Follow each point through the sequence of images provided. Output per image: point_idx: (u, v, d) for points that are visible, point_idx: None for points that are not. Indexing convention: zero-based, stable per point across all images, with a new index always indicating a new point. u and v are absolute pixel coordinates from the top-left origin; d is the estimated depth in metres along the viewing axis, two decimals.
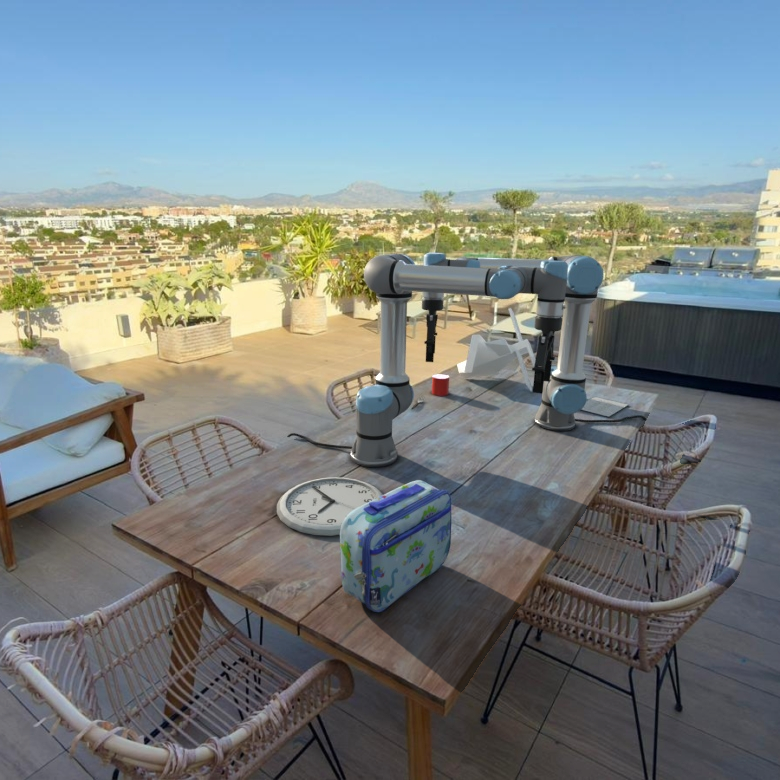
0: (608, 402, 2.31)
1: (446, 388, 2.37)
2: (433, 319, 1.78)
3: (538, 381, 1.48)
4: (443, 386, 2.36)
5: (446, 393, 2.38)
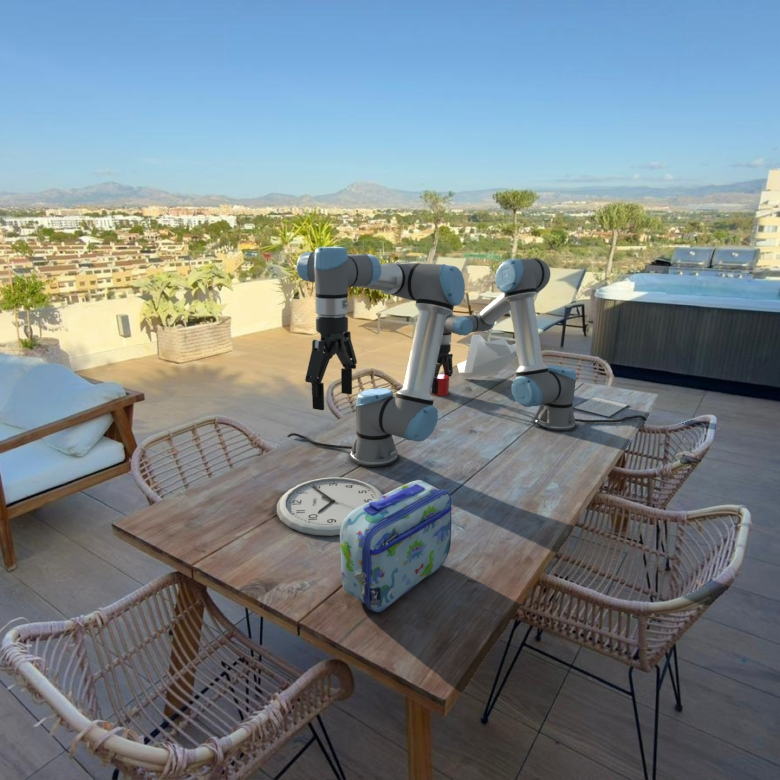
0: (608, 402, 2.31)
1: (446, 388, 2.37)
2: None
3: (315, 395, 1.20)
4: (443, 386, 2.36)
5: (446, 393, 2.38)
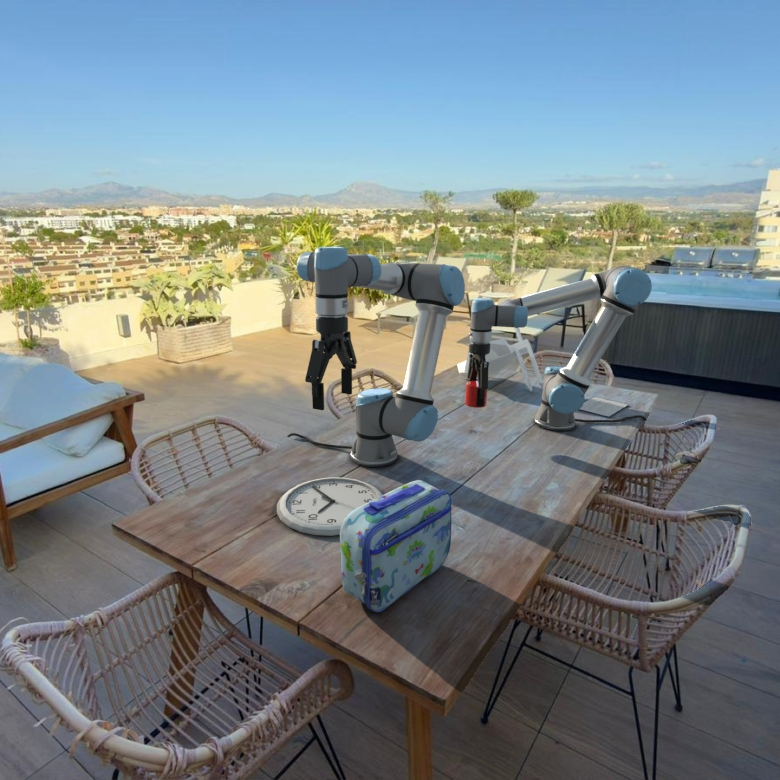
0: (608, 402, 2.31)
1: None
2: (487, 366, 1.83)
3: (315, 395, 1.20)
4: (486, 394, 1.92)
5: None
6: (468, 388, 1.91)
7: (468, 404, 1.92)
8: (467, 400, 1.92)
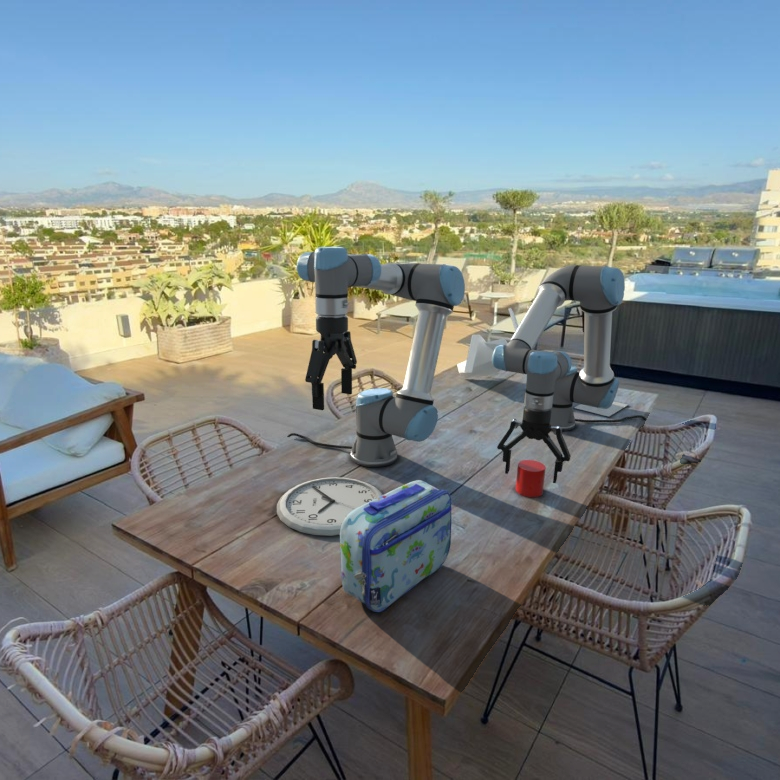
0: None
1: None
2: (561, 431, 1.45)
3: (315, 395, 1.20)
4: None
5: None
6: (533, 475, 1.47)
7: (533, 495, 1.49)
8: (531, 490, 1.48)
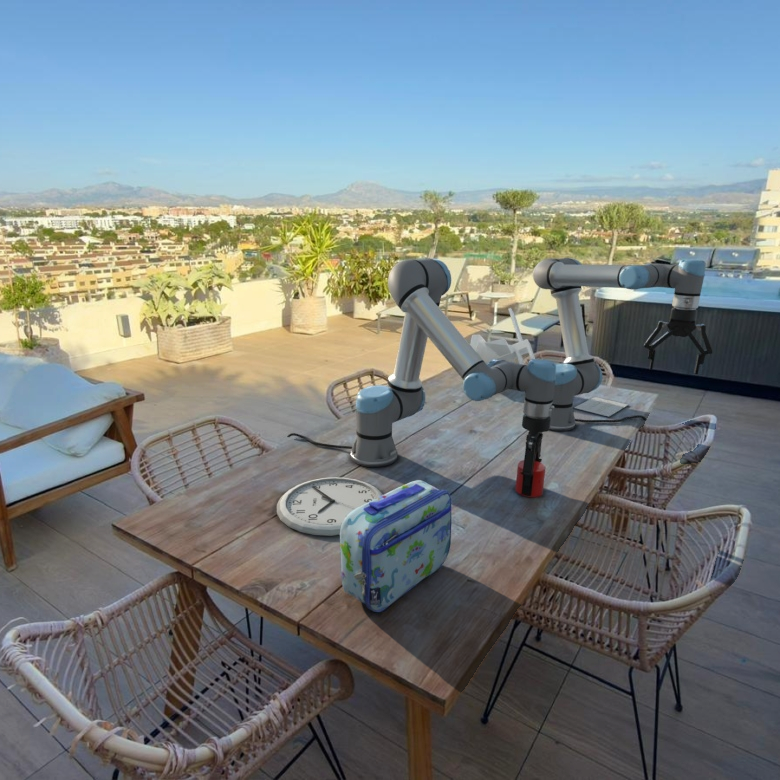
0: (608, 402, 2.31)
1: None
2: None
3: (527, 485, 1.46)
4: None
5: None
6: None
7: (533, 495, 1.49)
8: None
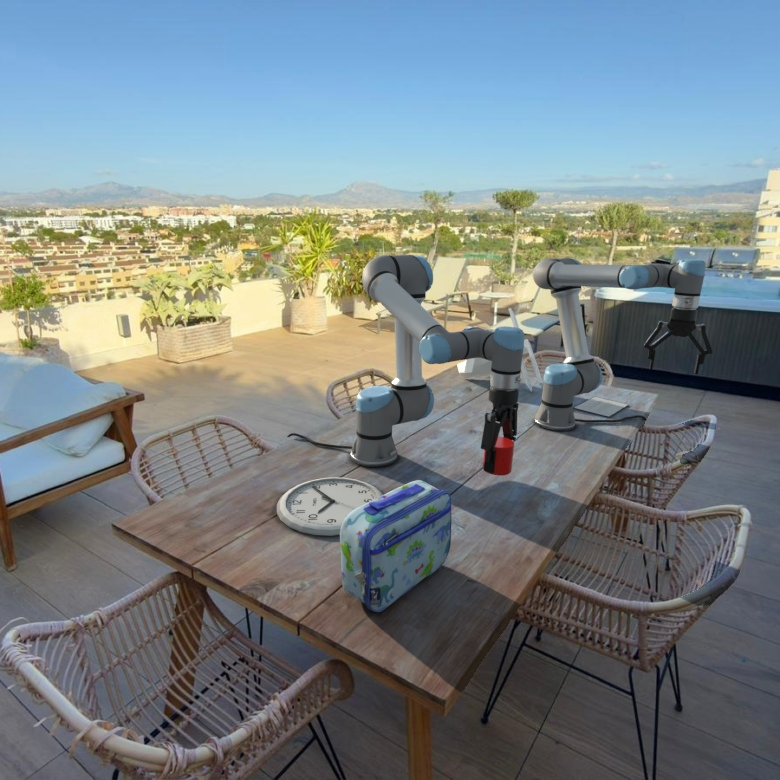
0: (608, 402, 2.31)
1: None
2: None
3: (487, 460, 1.37)
4: None
5: None
6: (496, 452, 1.38)
7: (496, 473, 1.39)
8: None
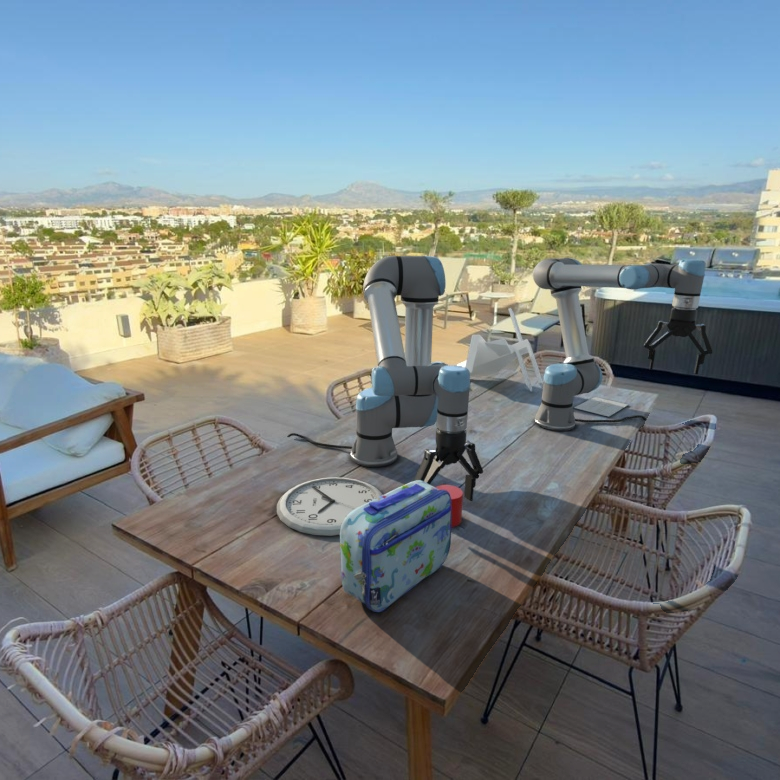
0: (608, 402, 2.31)
1: None
2: None
3: None
4: None
5: None
6: None
7: None
8: None
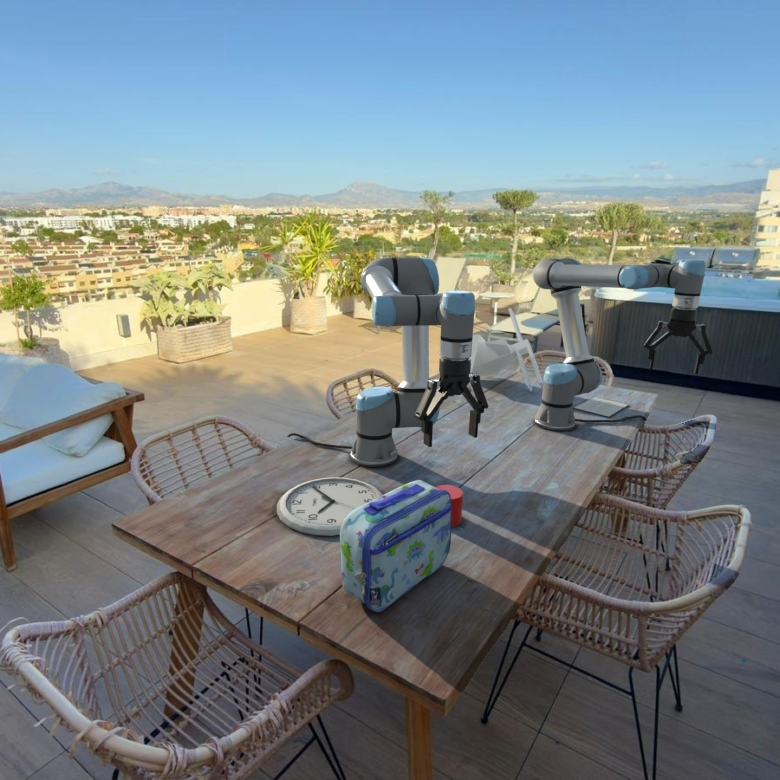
0: (608, 402, 2.31)
1: None
2: None
3: (423, 431, 1.25)
4: None
5: None
6: None
7: None
8: None
